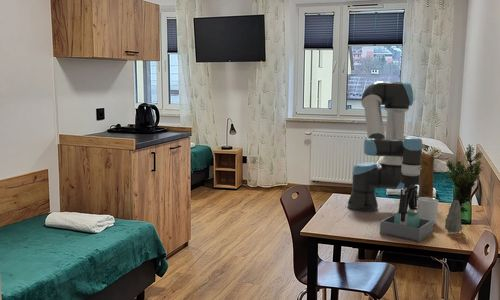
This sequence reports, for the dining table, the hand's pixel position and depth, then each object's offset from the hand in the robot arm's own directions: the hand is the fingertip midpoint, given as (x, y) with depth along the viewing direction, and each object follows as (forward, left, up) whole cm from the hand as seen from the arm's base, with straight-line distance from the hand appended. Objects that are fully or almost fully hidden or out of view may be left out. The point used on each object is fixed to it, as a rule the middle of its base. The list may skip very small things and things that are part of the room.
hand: (406, 226), depth 204 cm
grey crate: (0, 0, -3) cm, 3 cm away
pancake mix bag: (-11, +55, -3) cm, 56 cm away
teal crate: (0, 0, 0) cm, 0 cm away
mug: (0, +24, -3) cm, 24 cm away
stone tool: (+15, +15, -3) cm, 21 cm away
